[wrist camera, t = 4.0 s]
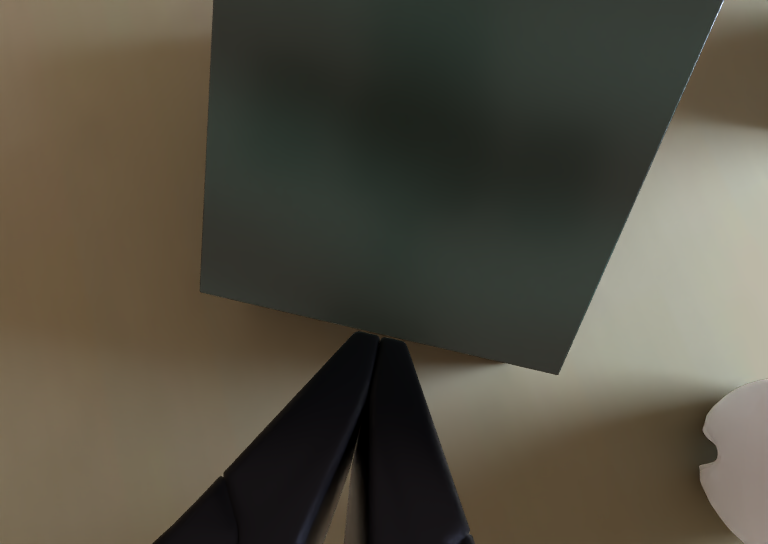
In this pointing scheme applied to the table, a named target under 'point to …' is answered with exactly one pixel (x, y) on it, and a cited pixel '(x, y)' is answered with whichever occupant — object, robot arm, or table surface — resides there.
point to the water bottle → (740, 461)
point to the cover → (436, 159)
